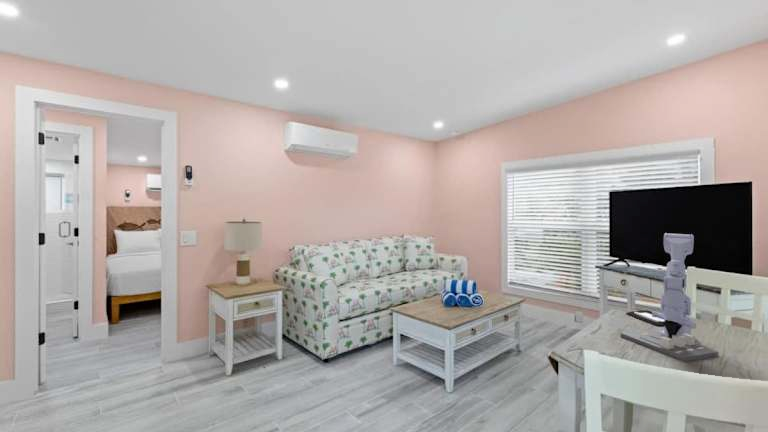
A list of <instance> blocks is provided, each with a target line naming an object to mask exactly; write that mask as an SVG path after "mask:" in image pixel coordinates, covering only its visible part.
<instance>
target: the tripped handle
mask: <svg viewBox="0 0 768 432" xmlns="http://www.w3.org/2000/svg"><path fill="white" fill-rule="evenodd" d="M672 339H674V344H673V345H675V346H678V347H680V348H681V347H685V342H686V338H685V337H682V336H679V335H672Z"/></svg>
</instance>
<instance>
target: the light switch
mask: <svg viewBox="0 0 768 432" xmlns="http://www.w3.org/2000/svg"><path fill="white" fill-rule="evenodd" d="M652 312H653V311H650V310H648V309H647V310H646V309H645V310H634V311H629V312H626V313H625V315H627V316H629V317H631V316H632V318H633V317H634V319H636V320H638V319H639V321H641V320H642V321H641V322H643V321H644V322H643V323H646V322H647V323H646V324H649V323H650V324H649V325H652V326H655V327H663V328H664V324H663V322H664V319H660V318H657V317H652Z"/></svg>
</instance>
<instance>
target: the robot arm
mask: <svg viewBox="0 0 768 432" xmlns="http://www.w3.org/2000/svg"><path fill="white" fill-rule="evenodd" d="M694 237H695V236H694V235H693V234H692V233H691V234H683V233H667V232H665V233H664V234H663V248H664V252H665V253H667V254H669V255H670V261H668V262H667V263H666V269H665V270H666V271H665V276H664V277H663V290H664V291H663V293H662V295H661V299H660V311H661V312H659V311H651V312H652V317H657V318H660V319H664V322H663V324H664V327H663V330H658V331H659V332H662V333H665V334H668V335H669V338H671V339H672V335H679V336H682V334H685V333H687V334H690V335H692V330H693V329H694V330H695V329H697V323H696V322H693V321H692V319H691V317H690V316H691V311H692V303H691V302H692V299H691V298H690V296H688V295H687V294H686V293H685V292H686V288H687V287H686V286H687V280H686V265H685V260H686V257H687V256H688V255H692V254H693V252H694V243H695V242H694V241H695V240H694V239H695V238H694ZM662 312H663V313H662Z"/></svg>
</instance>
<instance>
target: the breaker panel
mask: <svg viewBox="0 0 768 432" xmlns="http://www.w3.org/2000/svg"><path fill="white" fill-rule="evenodd" d="M659 331H660V330H656V329H652V328H649V329H641V330H635V331H634V330H633V331H626V332H621V333H620V337H621V338H623V339H625V340H629V341H631V342H634V343H636V344H638V345H641V346H644V347H647V348H649V349H652V350H653V351H654V350H655V351H656V352H660V353H662V354H664V355H667V356H670V357H673V358H675V359H677V360H679V361H682V362H689V361H690V362H691V361H695V360H701V359H706V358H707V359H708V358H711V357H717V356H718V355H719V351H717V350H715V349H712V348H709V347H707V346H706V347H705V346H703V345H700V344H697V343H696V336H695V335H693V334H691V335H690V334H687V333H685V334H682V337H685V338H686V342H685V347H681V348H680V347H678V346H675V345H673V344H674V339H671V338H669V335H668V334H665V333H662V332H659Z"/></svg>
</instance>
